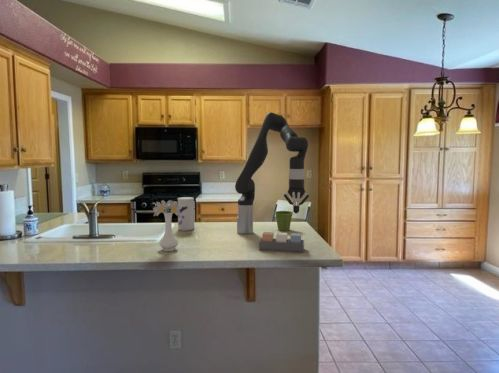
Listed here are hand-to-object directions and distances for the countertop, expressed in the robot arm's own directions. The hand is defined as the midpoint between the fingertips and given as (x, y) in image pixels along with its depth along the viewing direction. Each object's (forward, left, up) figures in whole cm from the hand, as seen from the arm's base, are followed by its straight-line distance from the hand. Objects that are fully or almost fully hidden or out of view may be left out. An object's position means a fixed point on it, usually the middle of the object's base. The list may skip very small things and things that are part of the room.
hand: (296, 213), depth 178 cm
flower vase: (-63, -11, -19) cm, 67 cm away
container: (-72, +36, -19) cm, 83 cm away
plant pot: (-11, +46, -19) cm, 51 cm away
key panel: (-7, 0, -19) cm, 20 cm away
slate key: (0, 0, -15) cm, 15 cm away
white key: (-7, 0, -15) cm, 17 cm away
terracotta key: (-14, 0, -15) cm, 21 cm away
